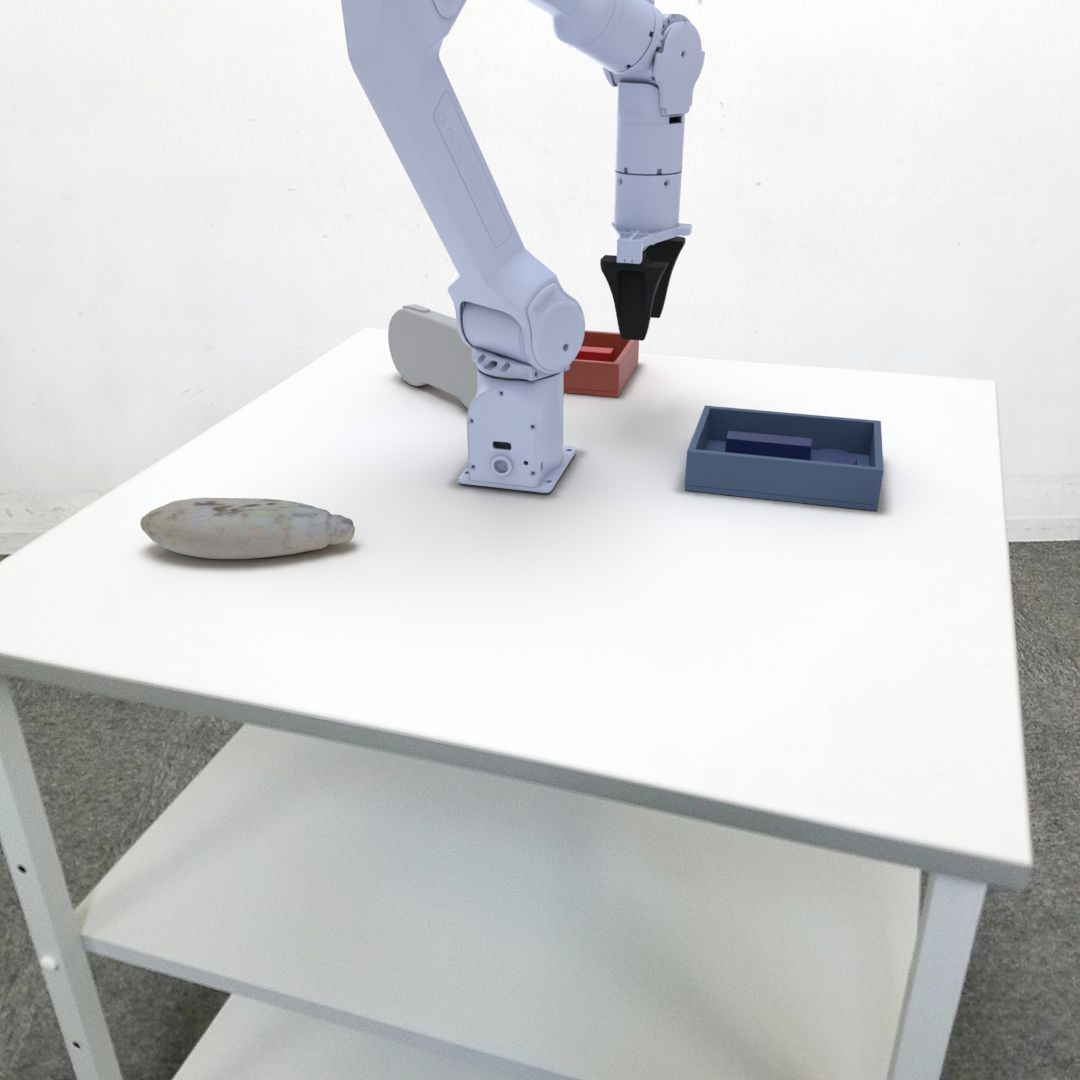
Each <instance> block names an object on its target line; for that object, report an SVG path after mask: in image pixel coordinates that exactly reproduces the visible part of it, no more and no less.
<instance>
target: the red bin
mask: <svg viewBox="0 0 1080 1080" xmlns="http://www.w3.org/2000/svg"><path fill="white" fill-rule="evenodd" d="M582 346H587V347H600V348H613V349H614V362H604V361H591V360H579V359H574V360H573V361H572V363H571V364H570V369H569V370H567V371H564V394H577V395H588V396H598V397H610V398H619V396H621V393H622V392H623V390H624V388H625V387H626V385H627V384H628V382H629V380H630V379H631V377H632V375H633V374H634V373H635V370H636V369H637V368H638V366H639V351H640V340H628V339H621V336H620V332H614V331H600V330H587V329H585V334H584V339H583V343H582Z"/></svg>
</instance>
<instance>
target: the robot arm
mask: <svg viewBox="0 0 1080 1080" xmlns="http://www.w3.org/2000/svg"><path fill="white" fill-rule="evenodd" d="M467 1H468V0H340V3H341V4H340V5H341V12H342V21H343V26H344V35H345V43H346V50H347V56H348V60H349V63H350V65H351V68H352V70H353V72H354V74H355V76H356V78H357V80H358V83H359V84H360V86H361V88H362V90H363V92H364V94H365V95H366V97H367V100H368V102H369V104H370V105H371V107H372V109H373V111H374V113H375V115H376V117H377V119H378V121H379V123H380V125H381V127H382V129H383V130H384V132H385V134H386V136H387V138H388V141H389V142H390V144H391V146H392V148H393V150H394V151H395V154H396V155H397V158H398V160H399V162H400V163H401V165H402V167H403V169H404V172H405V173H406V175H407V178H408V179H409V181H410V182H411V185H412V187H413V189H414V191H415V192H416V195H417V197H418V198H419V200H420V202H421V205H422V206H423V208H424V210H425V211H426V213H427V215H428V217H429V220H430V221H431V224H432V225H433V227H434V229H435V231H436V233H437V235H438V237H439V239H440V241H441V242H442V245H443V246H444V248H445V251H446V253H447V255H448V256H449V259H450V260H451V262H452V264H453V266H454V268H455V271H456V273H455V274H454V276H453V277H452V280H451V282H450V283H449V285H448V288H447V293H448V295H449V296H450V298H451V301H452V302H453V305H454V309H455V319H456V324H457V329H458V332H459V335H460V337H461V339H462V340H463V341H464V343H465V344H466V345H467V346H469V347H470V348H471V350H472V361H473V362H475V363H476V364H477V394H476V396H475V398H474V399H473V401H472V402H471V404H470V406H469V409H468V408H467V413H466V429H467V430H466V435H467V436H466V437H467V461H468V462H467V466H466V467H465V468H464V470H462V472H461V474H459V476H458V477H457V481H458V483H459V484H461V485H470V486H479V487H486V488H487V487H488V488H497V489H506V490H512V491H513V490H514V491H522V492H523V491H524V492H531V493H540V494H541V493H542V494H548V493H551V492H552V491H553V489H554V488H555V486H556V484H557V483H558V481H559V480H560V478H561V477H562V475H563V473H564V471H565V470H566V469H567V467H568V466H569V464H570V463H571V461H572V459H573V458H574V456H575V454H576V452H577V448H576V447H575V446H572V445H564V394H565V393H564V371H567V370H569V369H570V364H571V363H572V361H573V360H574V359H575V357H576V356H577V354H578V352H579V350H580V348H581V346H582V343H583V339H584V334H585V330H586V321H585V313H584V310H583V308H582V305H581V304H580V303H579V301H578V300H577V299H576V298H575V297H573V295H571V294H569V293H568V292H567V291H566V290H564V288H563V286H562V285H561V283H560V280H559V278H558V276H557V274H556V273H555V272H554V271H552V269H550V268H549V267H548V266H547V265H546V264H544V263H543V262H542V261H541V260H540V259H538V258H537V257H536V256H535V255H533V254H532V253H531V252H529V250H527V249H526V247H525V245H524V242H523V240H522V239H521V236H520V234H519V232H518V230H517V227H516V225H515V223H514V220H513V219H512V216H511V214H510V212H509V209H508V208H507V205H506V203H505V200H504V199H503V197H502V194H501V192H500V189H499V187H498V185H497V182H496V180H495V179H494V177H493V175H492V172H491V169H490V168H489V165H488V163H487V161H486V159H485V156H484V154H483V151H482V149H481V147H480V145H479V143H478V141H477V138H476V136H475V134H474V132H473V130H472V127H471V125H470V123H469V121H468V118H467V116H466V113H465V112H464V109H463V107H462V105H461V103H460V101H459V99H458V96H457V94H456V92H455V90H454V88H453V85H452V83H451V81H450V79H449V77H448V74H447V72H446V70H445V67H444V65H443V63H442V61H441V59H440V52H441V48H442V45H443V41H444V39H445V38H447V36H448V35H449V34H450V32H451V30H452V28H453V26H454V25H455V23H456V21H457V19H458V17H459V15H460V14H461V12H462V10H463V8H464V7H465V5H466V2H467ZM524 1H525V2H527V3H529V4H530V5H532V6H534V7H536V8H537V9H540V10H541V11H543V12H545V13H547V14H549V15H550V23H551V29H552V30H553V33H554V35H555V37H556V38H557V39H558V40H559V41H560V42H562V43H563V44H564V45H567V46H568V47H569V48H571V49H573V50H574V51H576V52H578V53H579V54H581V55H583V56H585V57H586V58H587V59H590V60H591V61H593V62H594V63H596V64H598V65H599V66H601V67H602V71H603V73H604V76H605V78H606V80H607V82H608V83H609V85H610V86H611V87H612V88H616V115H615V116H616V117H615V118H616V119H615V120H616V121H615V148H614V149H615V151H614V152H615V153H614V182H613V184H614V185H613V214H612V215H613V218H612V222H611V223H610V233H611V235H612V237H613V238H614V240H615V241H616V242H617V243H616V255H612V254H604V255H603V256H602V257H601V258H600V262H599V263H600V264H599V266H600V270H601V272H602V274H603V276H604V278H605V280H606V281H607V285H608V287H609V289H610V293H611V296H612V300H613V304H614V309H615V310H614V311H615V315H616V323H617V327H618V333H620V336H621V339H628V340H639V341H644V340H646V337H647V334H648V331H649V328H650V323H651V322H650V321H651V318H652V319H660V317H661V316H662V313H663V310H664V306H665V302H666V300H667V294H668V289H669V286H670V281H671V278H672V274H673V272H674V271H673V270H674V269H675V266H676V263H677V260H678V258H679V256H680V254H681V252H682V250H683V249H684V247H685V245H686V240H687V239H686V236H690V235H691V234H692V233H693V224H691V223H682V222H680V211H681V210H680V209H681V208H680V207H681V195H682V194H681V191H682V174H683V159H684V144H685V143H684V142H685V141H684V140H685V125H686V123H685V122H686V114H688V113H689V112H690V109H691V107H692V106H693V95H694V89H695V86H696V84H697V81H698V79H699V78H700V75H701V73H702V71H703V67H704V62H705V57H706V56H705V55H706V52H705V51H704V50H703V49H702V47H703V46H702V40H701V36H700V33H699V31H698V29H697V27H696V26H695V25H694V24H693V23H692V22H691V21H690V19H689V18H688V17H687V16H685V15H683V14H679V13H662V11H661V10H660V9H659V8H658V7H656V6H655V4H656V3H655V0H524Z"/></svg>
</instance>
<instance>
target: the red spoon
mask: <svg viewBox="0 0 1080 1080" xmlns="http://www.w3.org/2000/svg"><path fill="white" fill-rule="evenodd" d="M575 359H579V360H591V361H604V362H614V349H613V348H600V347H587V346H581V348H580V350H579V352H578V354H577V356H576V357H575Z"/></svg>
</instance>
